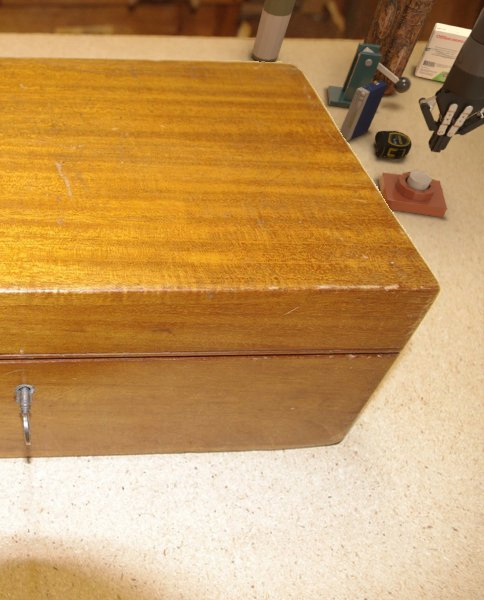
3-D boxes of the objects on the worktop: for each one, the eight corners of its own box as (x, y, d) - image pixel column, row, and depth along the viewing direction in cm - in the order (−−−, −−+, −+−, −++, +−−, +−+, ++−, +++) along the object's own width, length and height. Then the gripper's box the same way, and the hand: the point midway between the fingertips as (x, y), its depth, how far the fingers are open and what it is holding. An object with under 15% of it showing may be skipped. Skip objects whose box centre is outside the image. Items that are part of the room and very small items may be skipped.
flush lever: (399, 91, 162) (413, 79, 159) (401, 99, 159) (415, 87, 157) (355, 55, 158) (369, 43, 156) (356, 62, 156) (370, 50, 153)
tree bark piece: (395, 96, 166) (442, -10, 147) (372, 94, 166) (416, -12, 148) (378, 61, 177) (420, -41, 159) (356, 60, 177) (395, -43, 159)
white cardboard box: (452, 75, 173) (475, 29, 164) (450, 84, 170) (474, 38, 161) (415, 66, 175) (436, 21, 167) (413, 76, 172) (434, 30, 164)
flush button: (426, 179, 138) (430, 172, 137) (429, 192, 135) (433, 184, 134) (405, 176, 139) (408, 169, 137) (407, 188, 136) (411, 181, 135)
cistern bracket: (371, 95, 166) (392, 44, 156) (373, 111, 161) (396, 59, 152) (327, 89, 167) (346, 38, 158) (328, 105, 163) (348, 53, 153)
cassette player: (359, 127, 157) (379, 78, 148) (367, 132, 155) (388, 83, 147) (336, 136, 154) (356, 87, 145) (345, 142, 153) (365, 92, 144)
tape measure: (371, 141, 153) (378, 126, 150) (405, 146, 152) (412, 132, 149) (373, 159, 148) (379, 144, 146) (407, 165, 147) (414, 150, 144)
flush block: (435, 189, 142) (444, 173, 139) (442, 217, 136) (451, 201, 133) (378, 180, 143) (386, 164, 140) (383, 208, 137) (391, 192, 134)
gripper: (516, 58, 120) (468, 144, 133) (435, 48, 122) (395, 133, 135) (526, 80, 115) (475, 167, 128) (441, 69, 117) (399, 155, 130)
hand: (434, 149), depth 131 cm, fingers closed
